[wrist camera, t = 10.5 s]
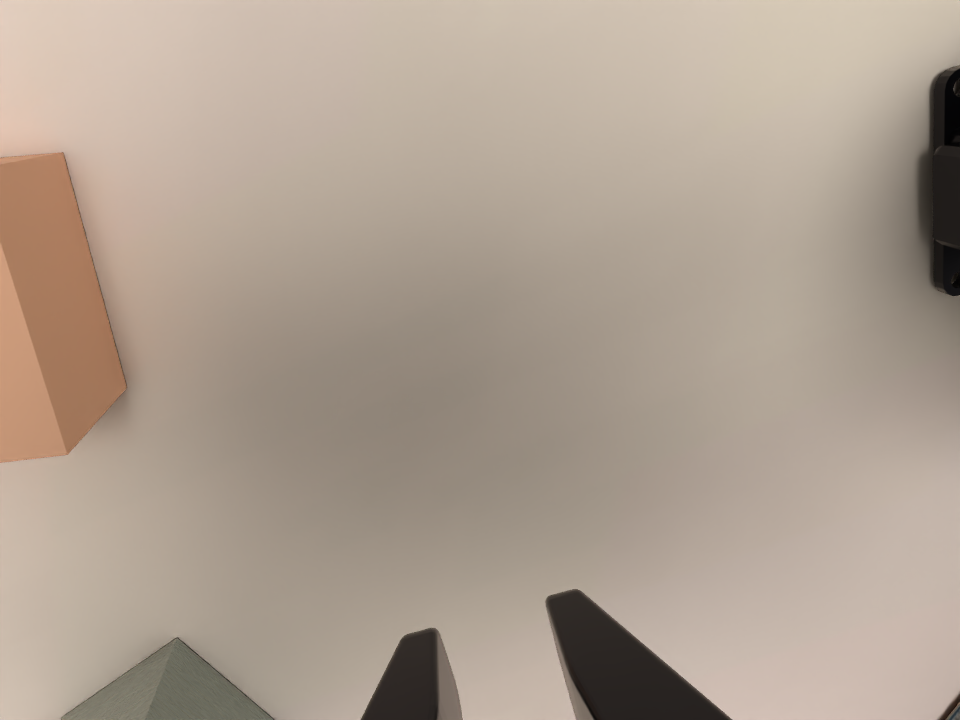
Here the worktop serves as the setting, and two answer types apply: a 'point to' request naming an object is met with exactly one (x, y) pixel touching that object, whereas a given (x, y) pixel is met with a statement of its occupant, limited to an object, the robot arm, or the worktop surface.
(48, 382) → the rectangular block
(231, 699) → the tea tin
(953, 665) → the worktop surface
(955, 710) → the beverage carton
